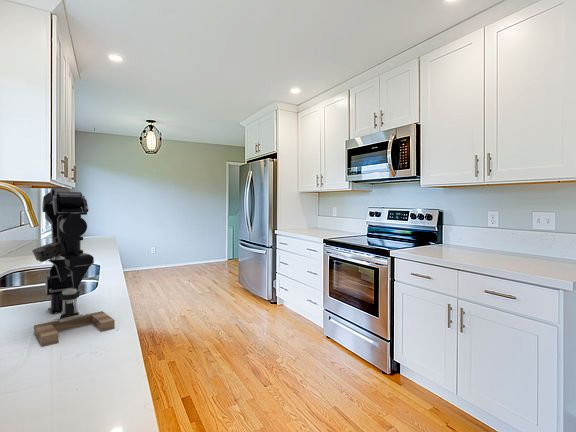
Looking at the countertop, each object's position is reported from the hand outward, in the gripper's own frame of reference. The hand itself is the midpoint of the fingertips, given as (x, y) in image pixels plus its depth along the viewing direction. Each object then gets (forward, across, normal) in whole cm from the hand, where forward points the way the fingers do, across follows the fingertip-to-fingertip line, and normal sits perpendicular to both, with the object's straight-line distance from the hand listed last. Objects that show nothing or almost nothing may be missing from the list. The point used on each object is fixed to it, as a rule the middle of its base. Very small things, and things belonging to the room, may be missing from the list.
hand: (69, 284), depth 95 cm
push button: (+12, -1, 0) cm, 12 cm away
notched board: (+12, +8, -1) cm, 14 cm away
